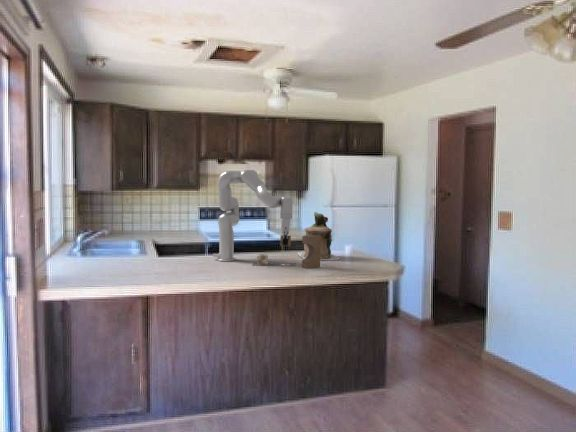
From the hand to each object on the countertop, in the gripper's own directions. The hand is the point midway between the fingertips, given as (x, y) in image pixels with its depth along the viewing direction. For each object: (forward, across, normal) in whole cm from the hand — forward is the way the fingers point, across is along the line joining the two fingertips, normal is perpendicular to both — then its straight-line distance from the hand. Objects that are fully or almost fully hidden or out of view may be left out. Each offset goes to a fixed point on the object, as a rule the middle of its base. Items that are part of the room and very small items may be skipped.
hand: (285, 243), depth 317 cm
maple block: (+14, 0, -14) cm, 20 cm away
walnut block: (+1, 0, 0) cm, 1 cm away
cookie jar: (+14, -28, +23) cm, 38 cm away
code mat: (+14, 0, -7) cm, 15 cm away
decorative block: (+14, +7, +17) cm, 23 cm away
